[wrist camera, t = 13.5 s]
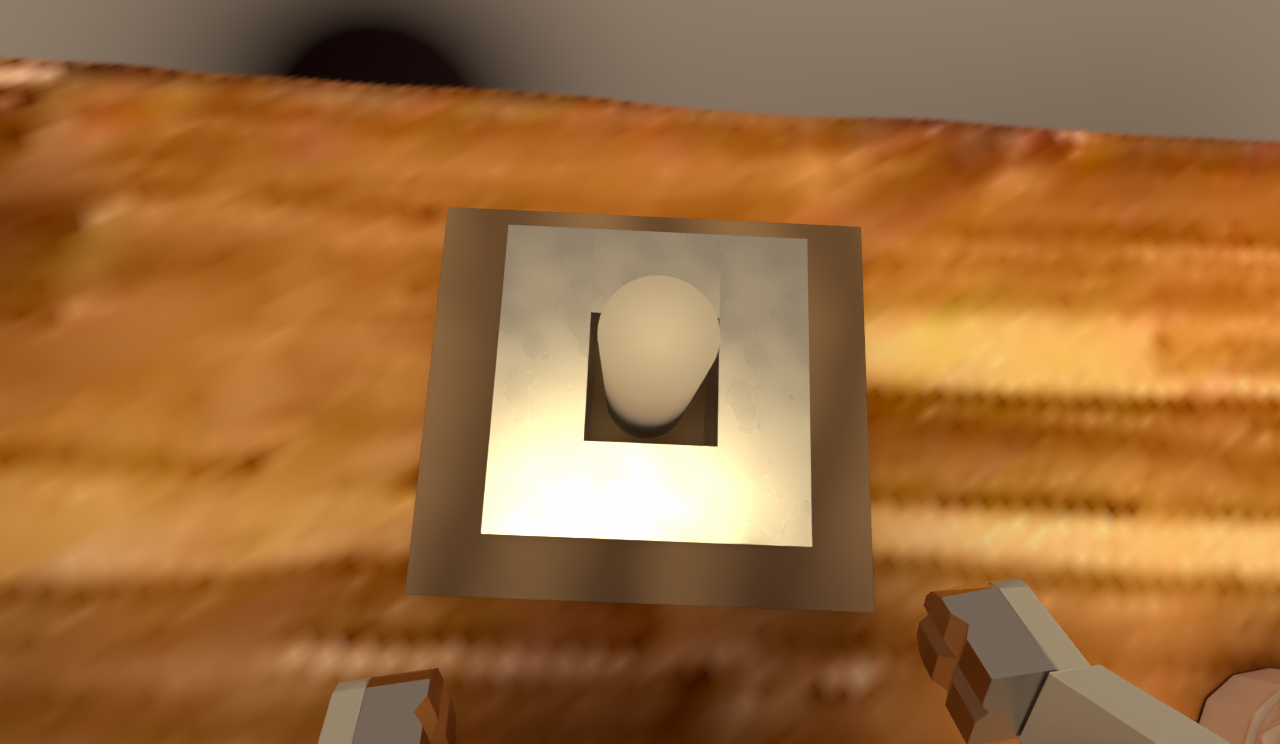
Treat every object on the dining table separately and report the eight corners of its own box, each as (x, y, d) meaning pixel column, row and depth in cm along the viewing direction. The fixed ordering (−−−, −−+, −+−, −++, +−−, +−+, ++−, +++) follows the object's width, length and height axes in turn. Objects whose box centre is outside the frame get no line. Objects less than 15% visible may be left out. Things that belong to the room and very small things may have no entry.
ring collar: (502, 530, 26) (481, 533, 22) (524, 265, 28) (508, 224, 24) (783, 542, 26) (812, 547, 22) (781, 277, 28) (807, 238, 24)
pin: (604, 436, 26) (594, 391, 17) (608, 359, 27) (600, 272, 17) (684, 440, 27) (719, 396, 17) (685, 363, 27) (721, 278, 17)
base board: (413, 591, 26) (405, 594, 25) (453, 217, 29) (448, 207, 28) (865, 609, 26) (874, 612, 25) (852, 236, 30) (860, 227, 29)
